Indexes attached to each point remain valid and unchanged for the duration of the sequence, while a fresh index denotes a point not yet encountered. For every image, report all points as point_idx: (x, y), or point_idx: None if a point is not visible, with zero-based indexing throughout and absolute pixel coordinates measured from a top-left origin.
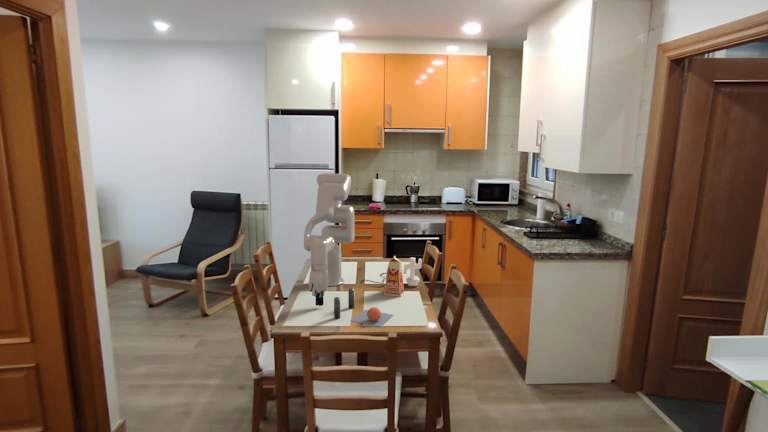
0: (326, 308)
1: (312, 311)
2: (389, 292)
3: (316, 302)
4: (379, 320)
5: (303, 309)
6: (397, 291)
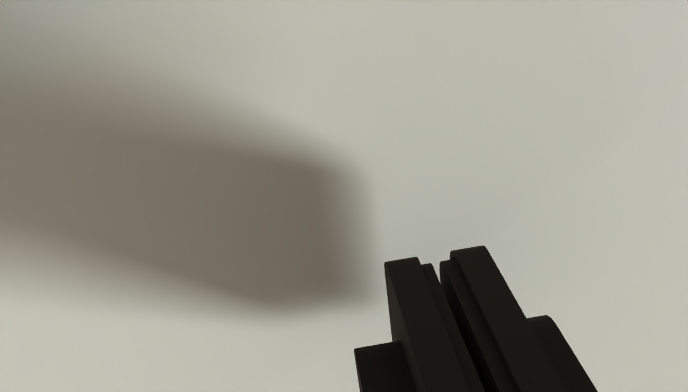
0: None
1: (147, 286)
2: None
3: (360, 369)
4: None
5: (70, 11)
6: None
